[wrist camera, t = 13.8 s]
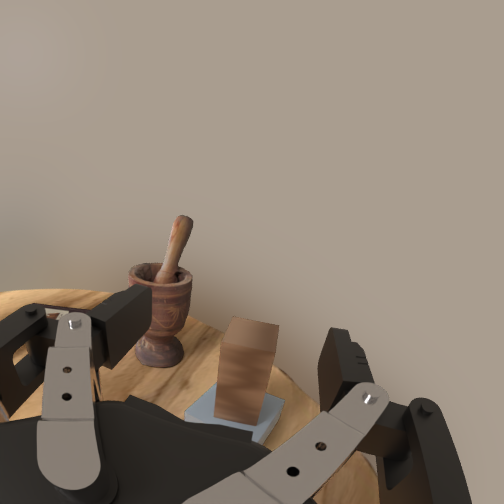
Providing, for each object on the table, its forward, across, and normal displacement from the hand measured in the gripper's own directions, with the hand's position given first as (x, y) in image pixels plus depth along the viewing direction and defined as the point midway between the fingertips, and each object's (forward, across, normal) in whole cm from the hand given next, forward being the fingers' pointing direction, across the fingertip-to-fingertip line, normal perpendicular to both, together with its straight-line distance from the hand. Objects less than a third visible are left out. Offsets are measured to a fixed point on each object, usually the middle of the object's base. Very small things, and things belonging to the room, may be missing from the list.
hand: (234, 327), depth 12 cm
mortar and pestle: (+22, +13, +21) cm, 33 cm away
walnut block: (+10, 0, +17) cm, 20 cm away
